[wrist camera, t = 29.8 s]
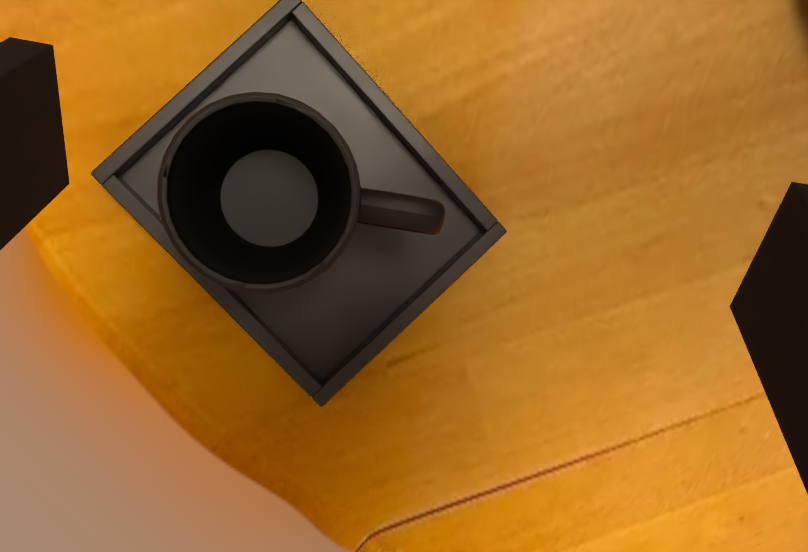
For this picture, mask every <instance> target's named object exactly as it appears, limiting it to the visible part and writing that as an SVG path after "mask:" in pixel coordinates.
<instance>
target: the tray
mask: <svg viewBox="0 0 808 552" xmlns="http://www.w3.org/2000/svg"><path fill="white" fill-rule="evenodd" d="M247 92H266V93H277V94H280V95H284V96H287V97H290V98H293V99H297V100H299V101H301V102H303V103H304V104H306V105H308V106H310V107H311V108H313V109H315V110H317V111H318V112H320V113H321V114H322V115H323V116H324V117H325V118H326V119H327V120H328V121H330V122H331V123H332V124H333V125H334V126H335V127H336V128H337V130H338V131H339V133H340V134H341V135H342V137H343V138H344V140H345V141H346V143H347V144H348V145H349V148H350V150H351V152H352V155H353V157H354V160H355V162H356V164H357V167H358V173H359V179H360V185H361V188H367V189H374V190H380V191H387V192H393V193H400V194H406V195H412V196H417V197H423V198H428V199H433V200H436V201H439V202H441V203H442V204H444V208H445V218H444V223H443V227H442V229H441V230H440V232H439V233H437V234H434V235H431V234H424V233H417V232H411V231H404V230H398V229H392V228H386V227H380V226H374V225H367V224H361V223H356V227H355V231H354V233H353V235H352V237H351V239H350V240H349V242H348V244H347V246H346V248H345V250H344V252H343V253H342V254H341V255H340V256H339V257H338V258H337V259H336V261H335V262H334V263H333V264H332V265H331V266H330V267H329V268H328V269H327V270H325V271H324V272H323V273H321V274H320V275H319V276H317V277H316V278H314V279H313V280H312V281H310V282H307V283H305V284H303V285H300V286H298V287H296V288H293V289H291V290H286V291H281V292H275V293H270V294H261V293H244V292H240V291H237V290H233V289H229V288H225V287H222V286H220V285H219V284H217V283H215V282H213V281H211V280H209V279H207V278H205V277H203V276H202V275H201V274H199V273H198V272H197V271H196V270H195V269H193V268H192V267H191V266H190V265H189V264H188V263H186V262H185V261H184V259H183V258H182V257H181V255H180V254H179V253H178V251H177V250H176V249H175V248H174V246H173V245H172V244H171V242H170V239H169V237H168V235H167V233H166V231H165V228H164V226H163V224H162V222H161V217H160V212H159V207H158V202H157V183H158V173H159V170H160V166H161V162H162V158H163V155H164V153H165V151H166V149H167V147H168V145H169V143H170V141H171V140H172V138H173V136H174V134H175V133H176V132H177V131H178V130H179V128H180V127H181V126H182V125H183V124H184V123H185V122H186V121H187V119H188V118H189V117H190V116H192V115H193V114H195V113H196V112H197V111H199V110H200V109H202V108H203V107H205V106H206V105H208V104H209V103H211V102H214V101H217V100H219V99H222V98H224V97H227V96H229V95H234V94H240V93H247ZM91 175H92V176H93V177H94V178H95V179H96V180H97V181H98V182H99V183H100V184H102V186H103V187H104V188H105V189H106V190H107V191H108V192H109V193H110V194H111V195H112V196H113V197H114V198H115V199H116V200H117V201H118V202H119V203H120V204H121V205H122V206H123V207H124V208H125V209H126V210H127V212H128V213H129V214H130V215H131V216H132V217H133V218H134V219H135V220H136V221H137V222H138V223H139V224H140V225H141V226H142V227H143V228H144V229H145V230H146V231H147V232H148V233H149V234H150V235H151V236H152V237H153V238H154V239H155V240H156V241H157V242H158V243H159V244H160V245H161V246H162V247H163V248H164V249H165V250H166V251H167V252H168V253H169V254H170V255H171V256H172V257H173V258H174V259H175V260H176V261H177V262H178V263H179V264H180V265H181V266H182V267H183V268H184V269H185V270H186V271H187V272H188V273H189V274H190V275H191V276H192V277H193V278H194V279H195V280H196V281H197V282H198V283H199V284H200V285H201V286H202V287H203V288H204V289H205V290H206V291H207V292H208V293H209V294H210V295H211V296H212V297H213V298H214V299H215V300H216V302H217V303H218V304H219V305H220V306H221V307H222V308H223V309H224V310H225V311H226V312H227V313H228V314H229V315H230V316H231V317H232V318H233V319H234V320H235V321H236V322H237V323H238V324H239V325H240V326H241V327H242V328H243V329H244V330H245V331H246V332H247V333H248V334H249V335H250V336H251V337H252V338H253V339H254V340H255V341H256V342H257V343H258V344H259V345H260V346H261V347H262V348H263V349H264V350H265V351H266V352H267V353H268V354H269V355H270V356H271V357H272V358H273V359H274V360H275V361H276V362H277V363H278V364H279V365H280V366H281V367H282V368H283V369H284V370H285V371H286V372H287V373H288V374H289V375H290V376H291V377H292V378H293V379H294V380H295V381H296V382H297V383H298V384H299V385H300V386H301V387H302V388H303V389H304V390H305V391H306V393H307V394H308V395H309V396H312V398H313V399H314V400H315V401H316V402H317V403H318V404H319V405H320V406H321V407H322V406H324V405H325V404H326V403H327V402H328V401H329V400H330V399H331V398H332V397H333V396H334V395H335V394H336V393H337V392H338V391H340V390H341V389H342V388H343V387H344V386H345V385H346V384H347V383H348V382H349V381H350V380H351V379H352V378H353V377H354V376H355V375H356V374H357V373H359V372H360V371H361V370H362V369H363V368H364V367H365V366H366V365H367V364H368V363H369V362H370V361H371V360H372V359H373V358H374V357H375V356H377V355H378V354H379V353H380V352H381V351H382V350H383V349H384V348H385V347H386V346H387V345H388V344H389V343H390V342H391V341H392V340H393V339H394V338H396V337H397V336H398V335H399V334H400V333H401V332H402V331H403V330H404V329H405V328H406V327H407V326H408V325H409V324H410V323H411V322H412V321H413V320H415V319H416V318H417V317H418V316H419V315H420V314H421V313H422V312H423V311H424V310H425V309H426V308H427V307H428V306H429V305H430V304H431V303H433V302H434V301H435V300H436V299H437V298H438V297H439V296H440V295H441V294H442V293H443V292H444V291H445V290H446V289H447V288H448V287H449V286H450V285H452V284H453V283H454V282H455V281H456V280H457V279H458V278H459V277H460V276H461V275H462V274H463V273H464V272H465V271H466V270H467V269H468V268H470V267H471V266H472V265H473V264H474V263H475V262H476V261H477V260H478V259H479V258H480V257H481V256H482V255H483V254H484V253H485V252H486V251H487V250H489V249H490V248H491V247H492V246H493V245H494V244H495V243H496V242H497V241H498V240H499V239H500V238H501V237H502V236H503V235H504V234H505V233H506V232H507V231H506V229H505V228H504V227H503V226H502V225H501V224H500V223H499V222H498V221H497V219H496V218H495V217H494V216H493V215H492V213H491V212H490V211H489V210H488V209H487V208H486V207H485V206H484V204H483V203H482V202H481V201H480V200H479V199H478V198H477V197H476V196H475V194H474V193H473V192H472V191H471V190H470V189H469V188H468V187H467V185H466V184H465V183H464V182H463V181H462V180H461V179H460V178H459V176H458V175H457V174H456V173H455V172H454V171H453V170H452V169H451V167H450V166H449V165H448V164H447V163H446V162H445V161H444V160H443V158H442V157H441V156H440V155H439V154H438V153H437V152H436V151H435V149H434V148H433V147H432V146H431V145H430V144H429V143H428V142H427V140H426V139H425V138H424V137H423V136H422V135H421V134H420V133H419V132H418V130H417V129H416V128H415V127H414V126H413V125H412V124H411V123H410V121H409V120H408V119H407V118H406V117H405V116H404V115H403V114H402V112H401V111H400V110H399V109H398V108H397V107H396V106H395V105H394V103H393V102H392V101H391V100H390V99H389V98H388V97H387V96H386V94H385V93H384V92H383V91H382V90H381V89H380V88H379V87H378V85H377V84H376V83H375V82H374V81H373V80H372V79H371V78H370V76H369V75H368V74H367V73H366V72H365V71H364V70H363V69H362V67H361V66H360V65H359V64H358V63H357V62H356V61H355V60H354V59H353V57H352V56H351V55H350V54H349V53H348V52H347V51H346V50H345V48H344V47H343V46H342V45H341V44H340V43H339V42H338V41H337V39H336V38H335V37H334V36H333V35H332V34H331V33H330V32H329V30H328V29H327V28H326V27H325V26H324V25H323V24H322V23H321V21H320V20H319V19H318V18H317V17H316V16H315V15H314V14H313V12H312V11H311V10H310V9H309V8H308V7H307V6H306V5H305V3H304V2H302V1H301V0H279V1H278V2H277V3H276V4H275V5H274V6H273V7H272V8H271V9H270V10H268V11H267V12H266V13H265V14H264V15H263V16H262V17H261V18H260V19H259V20H258V21H256V22H255V23H254V24H253V25H252V26H251V27H250V28H249V29H248V30H247V31H245V32H244V33H243V34H242V35H241V36H240V37H239V38H238V39H237V40H236V41H235V42H233V43H232V44H231V45H230V46H229V47H228V48H227V49H226V50H225V51H224V52H222V53H221V54H220V55H219V56H218V57H217V58H216V59H215V60H214V61H213V62H212V63H210V64H209V65H208V66H207V67H206V68H205V69H204V70H203V71H202V72H201V73H199V74H198V75H197V76H196V77H195V78H194V79H193V80H192V81H191V82H190V83H188V84H187V85H186V86H185V87H184V88H183V89H182V90H181V91H180V92H179V93H178V94H176V95H175V96H174V97H173V98H172V99H171V100H170V101H169V102H168V103H167V104H165V105H164V106H163V107H162V108H161V109H160V110H159V111H158V112H157V113H156V114H155V115H153V116H152V117H151V118H150V119H149V120H148V121H147V122H146V123H145V124H144V125H142V126H141V127H140V128H139V129H138V130H137V131H136V132H135V133H134V134H133V135H132V136H130V137H129V138H128V139H127V140H126V141H125V142H124V143H123V144H122V145H121V146H119V147H118V148H117V149H116V150H115V151H114V152H113V153H112V154H111V155H110V156H109V157H107V158H106V159H105V160H104V161H103V162H102V163H101V164H100V165H99V166H98V167H96V168H95V169H94V170H93V171H92V172H91Z"/></svg>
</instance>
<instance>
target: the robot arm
mask: <svg viewBox="0 0 808 552" xmlns="http://www.w3.org/2000/svg"><path fill="white" fill-rule="evenodd" d="M68 184H69V176H68V168H67V159H66V151H65V143H64V134H63V126H62V117H61V109H60V100H59V92H58V83H57V75H56V67H55V58H54V50H53V45H49V44H44V43H38V42H33V41H28V40H22V39H17V38H11V37H10V38H8V39H6V40H4V41H3V42H1V43H0V250H1V249H2V248H3V247H4V246H5V245H6V244H7V243H8V242H9V241H10V240H11V239H12V238H13V237H15V236H16V234H18V233H19V232H20V231H21V230H22V229H23V228H24V227H25V226H26V225H27V224H28V223H29V222H30V221H31V220H32V219H33V218H34V217H35V216H36V215H37V214H38V213H39V212H40V211H41V210H42V209H44V208H45V207H46V206H47V205H48V204H49V203H50V202H51V201H52V200H53V199H54V198H55V197H56V196H57V195H58V194H59V193H60V192H61V191H62V190H63V189H64V188H65V187H66V186H67V185H68ZM730 308H731V310H732V313H733V315H734V318H735V320H736V323H737V325H738V327H739V330H740V332H741V335H742V337H743V339H744V342H745V344H746V347H747V349H748V351H749V354H750V356H751V359H752V361H753V364H754V366H755V368H756V371H757V373H758V376H759V378H760V380H761V383H762V385H763V388H764V390H765V392H766V395H767V397H768V400H769V402H770V404H771V407H772V409H773V412H774V414H775V417H776V419H777V421H778V424H779V426H780V429H781V431H782V433H783V436H784V438H785V441H786V443H787V445H788V448H789V450H790V453H791V455H792V457H793V460H794V462H795V465H796V467H797V470H798V472H799V474H800V477H801V479H802V482H803V484H804V486H805V489H806V491H807V494H808V185H807V184H801V183H796V182H791V184H790V186H789V188H788V190H787V192H786V194H785V196H784V198H783V200H782V202H781V204H780V206H779V208H778V210H777V212H776V214H775V216H774V218H773V220H772V222H771V224H770V226H769V228H768V230H767V232H766V235H765V237H764V239H763V241H762V243H761V245H760V247H759V249H758V251H757V253H756V255H755V257H754V259H753V261H752V263H751V265H750V267H749V269H748V271H747V273H746V275H745V277H744V279H743V281H742V283H741V285H740V287H739V289H738V291H737V293H736V295H735V297H734V299H733V301H732V303H731V305H730Z"/></svg>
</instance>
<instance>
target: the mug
mask: <svg viewBox="0 0 808 552" xmlns="http://www.w3.org/2000/svg"><path fill="white" fill-rule="evenodd" d="M157 202H158V207H159V212H160V217H161V222H162V224H163V226H164V228H165V231H166V233H167V235H168V237H169V239H170V242H171V244H172V245H173V246H174V248H175V249H176V250H177V251H178V253H179V254H180V255H181V257H182V258H183V259H184V261H185V262H186V263H188V264H189V265H190V266H191V267H192V268H193V269H195V270H196V271H197V272H198V273H199V274H201V275H202V276H203V277H205V278H207V279H209V280H211V281H213V282H215V283H217V284H219V285H220V286H222V287H225V288H229V289H233V290H237V291H240V292H244V293H261V294H270V293H275V292H281V291H286V290H291V289H293V288H296V287H298V286H300V285H303V284H305V283H307V282H310V281H312V280H313V279H314V278H316V277H317V276H319V275H320V274H321V273H323V272H324V271H325V270H327V269H328V268H329V267H330V266H331V265H332V264H333V263H334V262H335V261H336V259H337V258H338V257H339V256H340V255H341V254H342V253H343V252H344V250H345V248H346V246H347V244H348V242H349V240H350V239H351V237H352V235H353V233H354V231H355V227H356V223H361V224H367V225H374V226H380V227H386V228H392V229H398V230H404V231H411V232H417V233H424V234H431V235H434V234H437V233H439V232H440V230H441V229H442V227H443V223H444V218H445V208H444V204H442V203H441V202H439V201H436V200H433V199H428V198H423V197H417V196H412V195H406V194H400V193H393V192H387V191H380V190H374V189H367V188H361V185H360V179H359V173H358V167H357V164H356V162H355V160H354V157H353V155H352V152H351V150H350V148H349V145H348V144H347V143H346V141H345V140H344V138H343V137H342V135H341V134H340V133H339V131H338V130H337V128H336V127H335V126H334V125H333V124H332V123H331V122H330V121H328V120H327V119H326V118H325V117H324V116H323V115H322V114H321V113H320V112H318V111H317V110H315V109H313V108H311V107H310V106H308V105H306V104H304V103H303V102H301V101H299V100H297V99H293V98H290V97H287V96H284V95H280V94H277V93H266V92H247V93H240V94H234V95H229V96H227V97H224V98H222V99H219V100H217V101H214V102H211V103H209V104H208V105H206V106H205V107H203V108H202V109H200V110H199V111H197V112H196V113H195V114H193V115H192V116H190V117H189V118H188V119H187V121H186V122H185V123H184V124H183V125H182V126H181V127H180V128H179V130H178V131H177V132H176V133H175V134H174V136H173V138H172V140H171V141H170V143H169V145H168V147H167V149H166V151H165V153H164V155H163V158H162V162H161V166H160V170H159V173H158V183H157Z"/></svg>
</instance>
